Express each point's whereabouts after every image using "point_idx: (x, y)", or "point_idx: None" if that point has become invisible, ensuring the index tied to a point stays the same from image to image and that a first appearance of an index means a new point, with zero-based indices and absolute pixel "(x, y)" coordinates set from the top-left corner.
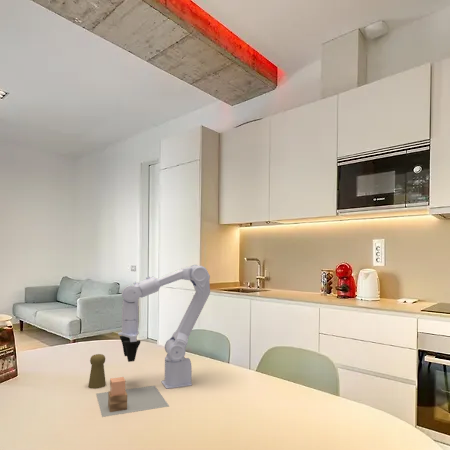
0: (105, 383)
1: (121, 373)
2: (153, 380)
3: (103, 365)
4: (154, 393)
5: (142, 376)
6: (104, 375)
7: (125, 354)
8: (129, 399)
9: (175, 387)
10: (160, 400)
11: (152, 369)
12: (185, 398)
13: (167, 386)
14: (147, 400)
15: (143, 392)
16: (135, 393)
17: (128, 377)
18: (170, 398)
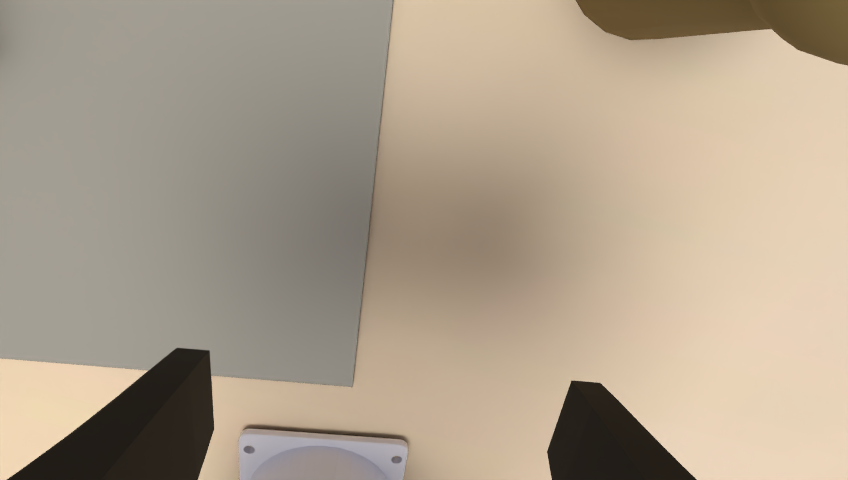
0: (617, 30)
1: (834, 260)
2: (484, 409)
3: (753, 12)
4: (176, 339)
5: (626, 374)
6: (661, 22)
7: (576, 410)
8: (94, 132)
9: (242, 475)
10: (6, 331)
11: (725, 467)
12: (26, 462)
13: (263, 445)
14: (27, 254)
15: (232, 279)
16: (232, 219)
17: (685, 281)
18: (51, 395)
